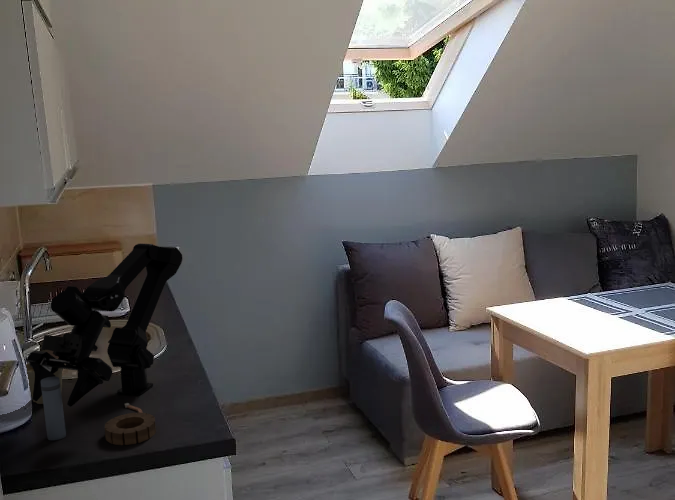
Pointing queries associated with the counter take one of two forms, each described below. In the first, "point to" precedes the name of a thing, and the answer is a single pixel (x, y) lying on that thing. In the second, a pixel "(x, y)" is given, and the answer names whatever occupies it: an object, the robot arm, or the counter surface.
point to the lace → (133, 408)
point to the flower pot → (32, 378)
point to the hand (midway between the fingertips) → (51, 403)
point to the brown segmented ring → (130, 428)
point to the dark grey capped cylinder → (53, 408)
